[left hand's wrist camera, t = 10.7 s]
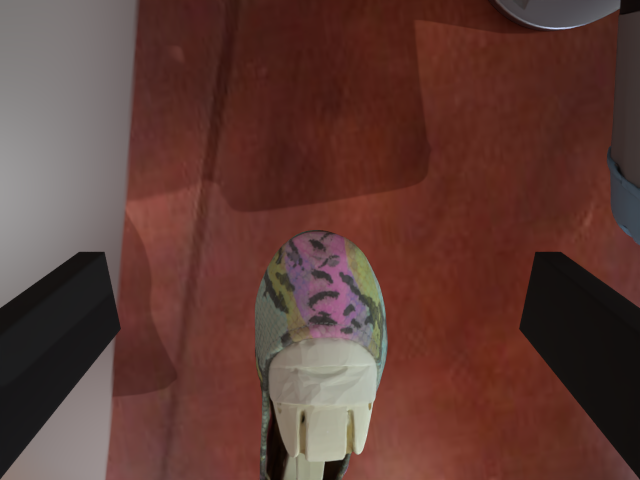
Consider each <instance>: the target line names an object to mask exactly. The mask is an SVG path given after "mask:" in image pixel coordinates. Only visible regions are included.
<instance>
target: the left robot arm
mask: <svg viewBox="0 0 640 480" xmlns="http://www.w3.org/2000/svg"><path fill="white" fill-rule="evenodd" d="M489 1H490V3H491V4H492V5H493V6H494V7H495V8H496V9H497V10H498V11H499V12H500V13H501V14H502V15H504V16H505V17H506V18H508V19H509V20H511V21H512V22H514V23H517V24H519V25H521V26H524V27H527V28H530V29H535V30H543V31H556V30H564V29H569V28H574V27H578V26H582V25H585V24H588V23H591V22H594V21H596V20H598V19H600V18H602V17H605V16H607V15H609V14H611V13H613V12H614V11H616V10H618V9H619V8H620V14H621V15H620V14H619V19H618V38H617V56H616V75H615V93H614V112H613V128H612V141H611V146H610V147H609V149H608V153H607V163H608V167H609V169H610V176H611V209H612V213H613V216H614V218H615V220H616V222H617V224H618V225H619V226H620V228H621V229H622V230H623V231H624V232H625V233H626V234H628V235H629V236H631V237H633V239H634V241H635V242H636V243H637V244H639V245H640V0H489ZM635 11H637V12H635ZM631 12H632V13H631ZM627 13H628V14H627ZM120 329H121V328H120V323H119V318H118V313H117V309H116V304H115V299H114V295H113V290H112V285H111V281H110V276H109V271H108V266H107V262H106V257H105V252H78V253H77V254H76V255H74V256H73V257H71V258H70V259H69V260H67V261H66V262H64V263H63V264H62V265H60V266H59V267H57V268H56V269H55V270H53V271H52V272H50V273H49V274H48V275H46V276H45V277H43V278H42V279H41V280H39V281H38V282H36V283H35V284H34V285H32V286H31V287H29V288H28V289H27V290H25V291H24V292H22V293H21V294H20V295H18V296H17V297H15V298H14V299H13V300H11V301H10V302H8V303H7V304H6V305H4V306H3V307H1V308H0V479H1V478H2V476H3V475H4V474H5V473H6V471H7V470H8V469H9V468H10V466H11V465H12V464H13V463H14V461H15V460H16V459H17V458H18V456H19V455H20V454H21V453H22V451H23V450H24V449H25V448H26V446H27V445H28V444H29V443H30V441H31V440H32V439H33V438H34V436H35V435H36V434H37V433H38V431H39V430H40V429H41V428H42V427H43V425H44V424H45V423H46V421H47V420H48V419H49V418H50V417H51V415H52V414H53V413H54V412H55V410H56V409H57V408H58V406H59V405H60V404H61V403H62V402H63V400H64V399H65V398H66V397H67V395H68V394H69V393H70V391H71V390H72V389H73V388H74V387H75V385H76V384H77V383H78V382H79V380H80V379H81V378H82V377H83V375H84V374H85V373H86V372H87V370H88V369H89V368H90V367H91V365H92V364H93V363H94V362H95V360H96V359H97V358H98V357H99V355H100V354H101V353H102V352H103V350H104V349H105V348H106V347H107V345H108V344H109V343H110V342H111V340H112V339H113V338H114V337H115V335H116V334H117V333H118V332H119V330H120ZM519 329H520V330H521V332H522V333H523V334H524V335H525V337H526V338H527V339H528V340H529V342H530V343H531V344H532V345H533V347H534V348H535V349H536V350H537V352H538V353H539V354H540V355H541V357H542V358H543V359H544V360H545V362H546V363H547V364H548V365H549V367H550V368H551V369H552V370H553V372H554V373H555V374H556V375H557V377H558V378H559V379H560V380H561V382H562V383H563V384H564V385H565V387H566V388H567V389H568V390H569V392H570V393H571V394H572V395H573V397H574V398H575V399H576V400H577V402H578V403H579V404H580V405H581V407H582V408H583V409H584V410H585V412H586V413H587V414H588V415H589V417H590V418H591V419H592V420H593V422H594V423H595V424H596V425H597V427H598V428H599V429H600V430H601V431H602V433H603V434H604V435H605V436H606V438H607V439H608V440H609V441H610V443H611V444H612V445H613V446H614V448H615V449H616V450H617V451H618V453H619V454H620V455H621V456H622V458H623V459H624V460H625V461H626V463H627V464H628V465H629V466H630V468H631V469H632V470H633V471H634V473H635V474H636V475H637V476H638V478H639V479H640V308H639V307H637V306H636V305H635V304H633V303H632V302H630V301H629V300H628V299H626V298H625V297H623V296H622V295H620V294H619V293H618V292H616V291H615V290H613V289H612V288H611V287H609V286H608V285H606V284H605V283H604V282H602V281H601V280H599V279H598V278H597V277H595V276H594V275H592V274H591V273H590V272H588V271H587V270H585V269H584V268H583V267H581V266H580V265H578V264H577V263H576V262H574V261H573V260H571V259H570V258H569V257H567V256H566V255H564V254H563V253H562V252H535V257H534V262H533V266H532V271H531V276H530V280H529V285H528V290H527V295H526V299H525V304H524V309H523V313H522V318H521V323H520V328H519Z"/></svg>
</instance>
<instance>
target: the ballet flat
mask: <svg viewBox="0 0 640 480" xmlns="http://www.w3.org/2000/svg"><path fill="white" fill-rule="evenodd" d="M386 355H387V327H386V315H385V307H384V302H383V297H382V293H381V289H380V286H379V283H378V281H377V279H376V276H375V274H374V272H373V270H372V268H371V266H370V264H369V262H368V260H367V258H366V257H365V255H364V254H363V252H362V251H361V250H360V249H359V248H358V247H357V246H356V245H355V244H354V243H353V242H351V241H350V240H348V239H346V238H345V237H342V236H340V235H337V234H335V233H332V232H328V231H322V230H312V231H306V232H302V233H300V234H298V235H296V236H294V237H293V238H291V239H290V240H289V241H288V242H286V243H285V244H284V245H283V246H282V247H281V248H280V249H279V250H278V251H277V253H276V254H275V256H274V257H273V259H272V261H271V262H270V264H269V266H268V268H267V270H266V272H265V274H264V276H263V279H262V281H261V284H260V287H259V291H258V294H257V298H256V305H255V356H256V367H257V371H258V376H259V379H260V383H261V390H262V399H263V400H262V429H261V450H260V480H341V479H342V477H343V475H344V474H345V472H346V470H347V468H348V464H349V459H350V455H351V453H352V452H353V451H354V452H355V453H356V454H360V453H361V452H362V450H363V448H364V444H365V441H366V437H367V432H368V427H369V422H370V417H371V412H372V406H373V401H374V400H375V396H376V391H377V389H378V386H379V383H380V379H381V376H382V372H383V368H384V365H385V362H386Z"/></svg>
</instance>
